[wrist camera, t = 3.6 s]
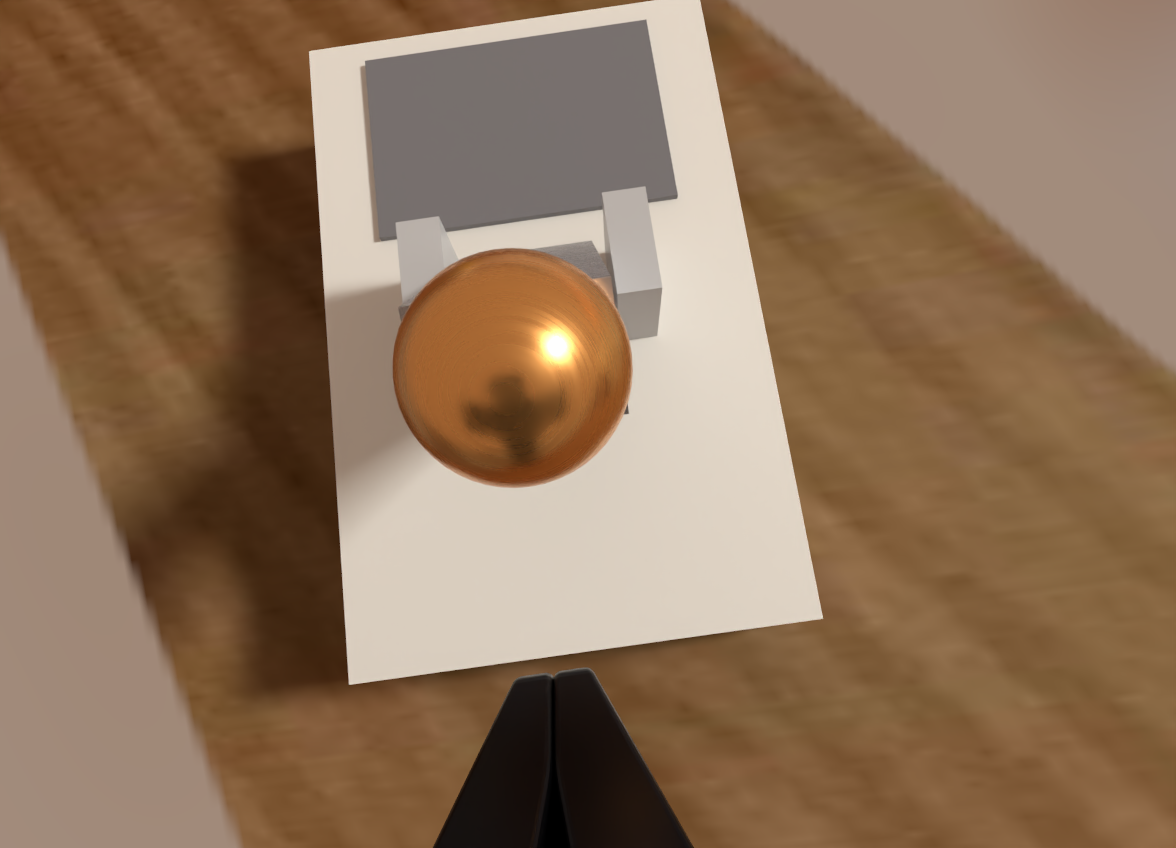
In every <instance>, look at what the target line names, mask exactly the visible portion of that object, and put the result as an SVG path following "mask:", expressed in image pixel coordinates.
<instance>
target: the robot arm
mask: <svg viewBox="0 0 1176 848" xmlns="http://www.w3.org/2000/svg"><path fill="white" fill-rule="evenodd" d="M433 848H694V847H693V845H692V844H691V842H690V840H689V838H688V837H687V835H686V833H685V831H684V829H683V828H682V826H681V824H680V822H679V821H678V819H677V817H676V815H675V814H674V812H673V810H672V808H671V807H670V805H669V803H668V801H667V800H666V798H665V796H664V794H663V793H662V791H661V789H660V787H659V786H658V784H657V782H656V780H655V779H654V777H653V775H652V773H651V772H650V770H649V768H648V766H647V764H646V763H645V761H644V759H643V757H642V756H641V754H640V752H639V750H638V749H637V747H636V745H635V743H634V742H633V740H632V738H631V736H630V735H629V733H628V731H627V729H626V728H625V726H624V724H623V722H622V721H621V719H620V717H619V715H618V714H617V712H616V710H615V708H614V707H613V705H612V703H611V701H610V699H609V698H608V696H607V694H606V692H605V691H604V689H603V687H602V685H601V684H600V682H599V680H598V678H597V677H596V675H595V673H594V672H593V671H592V670H591V669H590V668H579V669H572V670H564V671H559V672H557V673H556V675H555V677H553V676H552V675H551V674H549V673H543V674H536V675H529V676H522V677H518V678H517V679H516V680H515V681H514V682H513V684H512V686H511V688H510V690H509V692H508V694H507V696H506V698H505V700H504V702H503V704H502V706H501V708H500V710H499V713H498V715H497V717H496V719H495V721H494V723H493V725H492V727H491V729H490V731H489V733H488V735H487V737H486V739H485V741H484V743H483V745H482V748H481V750H480V752H479V754H478V756H477V758H476V760H475V762H474V764H473V766H472V768H471V770H470V772H469V774H468V776H467V778H466V780H465V783H464V785H463V787H462V789H461V791H460V793H459V795H458V797H457V799H456V801H455V803H454V805H453V807H452V809H451V811H450V813H449V815H448V817H447V820H446V822H445V824H444V826H443V828H442V830H441V832H440V834H439V836H438V838H437V840H436V842H435V844H434V846H433Z"/></svg>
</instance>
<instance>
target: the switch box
mask: <svg viewBox="0 0 1176 848" xmlns="http://www.w3.org/2000/svg"><path fill="white" fill-rule="evenodd" d="M309 58H310V74H311V90H312V106H313V122H314V138H315V153H316V169H317V185H318V201H319V217H320V233H321V249H322V265H323V280H324V296H325V312H326V328H327V344H328V360H329V376H330V392H331V407H332V423H333V439H334V455H335V471H336V487H337V503H338V519H339V535H340V550H341V566H342V582H343V598H344V614H345V630H346V646H347V662H348V677H349V685H352V684H359V683H366V682H373V681H380V680H387V679H394V678H402V677H409V676H416V675H423V674H430V673H437V672H445V671H452V670H459V669H466V668H473V667H480V666H488V665H495V664H502V663H509V662H516V661H523V660H530V659H538V658H545V657H552V656H559V655H566V654H573V653H581V652H588V651H595V650H602V649H609V648H616V647H624V646H631V645H638V644H645V643H652V642H659V641H667V640H674V639H681V638H688V637H695V636H702V635H709V634H717V633H724V632H731V631H738V630H745V629H752V628H760V627H767V626H774V625H781V624H788V623H795V622H803V621H810V620H817V619H823V616H822V611H821V606H820V601H819V596H818V591H817V586H816V581H815V576H814V571H813V566H812V561H811V556H810V551H809V546H808V541H807V536H806V531H805V526H804V521H803V516H802V511H801V506H800V501H799V496H798V491H797V486H796V481H795V476H794V471H793V465H792V460H791V455H790V450H789V445H788V440H787V435H786V430H785V425H784V420H783V415H782V410H781V405H780V400H779V395H778V390H777V385H776V380H775V375H774V370H773V365H772V360H771V355H770V350H769V345H768V340H767V335H766V330H765V325H764V320H763V315H762V310H761V305H760V300H759V295H758V290H757V285H756V279H755V274H754V269H753V264H752V259H751V254H750V249H749V244H748V239H747V234H746V229H745V224H744V219H743V214H742V209H741V204H740V199H739V194H738V189H737V184H736V179H735V174H734V169H733V164H732V159H731V154H730V149H729V144H728V139H727V134H726V129H725V124H724V119H723V114H722V109H721V104H720V99H719V93H718V88H717V83H716V78H715V73H714V68H713V63H712V58H711V53H710V48H709V43H708V38H707V33H706V28H705V23H704V18H703V13H702V8H701V3H700V0H654V1H647V2H640V3H634V4H627V5H620V6H613V7H606V8H600V9H593V10H586V11H579V12H572V13H566V14H559V15H552V16H545V17H538V18H532V19H525V20H518V21H511V22H504V23H498V24H491V25H484V26H477V27H470V28H464V29H457V30H450V31H443V32H436V33H430V34H423V35H416V36H409V37H402V38H396V39H389V40H382V41H375V42H368V43H362V44H355V45H348V46H341V47H334V48H328V49H321V50H314V51H309ZM590 240H592V242H593V244H594V246H595V248H596V249H597V251H598V253H599V255H600V257H601V259H602V261H603V262H604V264H605V266H606V268H607V270H608V272H609V274H610V276H611V280H612V288H613V295H614V303H615V306H616V308H617V310H618V312H619V314H620V316H621V318H622V320H623V322H624V325H625V328H626V331H627V333H628V336H629V341H630V346H631V351H632V365H633V375H632V387H631V392H630V397H629V401H628V410H629V414H624V415H623V417H622V419H621V421H620V423H619V425H618V427H617V429H616V430H615V432H614V433H613V435H612V436H611V438H610V439H609V441H608V442H607V444H606V445H605V446H604V447H603V448H602V449H601V450H600V451H599V452H598V454H597V455H595V456H594V457H593V458H592V459H591V460H590V461H588V462H587V463H586V464H585V465H583V466H582V467H580V468H579V469H577V470H576V471H574V472H572V473H570V474H568V475H566V476H564V477H562V478H560V479H557V480H554V481H551V482H548V483H545V484H541V485H536V486H532V487H522V488H503V487H495V486H489V485H484V484H481V483H478V482H474V481H471V480H469V479H467V478H464V477H462V476H460V475H458V474H456V473H454V472H453V471H451V470H449V469H448V468H446V467H445V466H443V465H442V464H441V463H439V462H438V461H437V460H436V459H434V458H433V457H432V456H431V455H430V454H429V453H428V452H427V451H426V450H425V449H424V448H423V447H422V446H421V444H420V443H419V442H418V441H417V439H416V438H415V437H414V435H413V434H412V432H411V431H410V429H409V427H408V426H407V424H406V422H405V420H404V418H403V416H402V413H401V411H400V408H399V406H398V402H397V398H396V395H395V390H394V383H393V351H394V344H395V340H396V336H397V332H398V329H399V326H400V324H401V319H400V315H399V310H398V307H399V306H400V305H402V304H403V303H404V302H406V301H407V300H408V299H410V298H411V297H412V296H414V295H415V294H416V293H418V292H419V291H420V290H421V289H422V288H423V287H424V286H425V285H426V284H427V283H428V282H429V281H430V280H431V279H432V278H433V277H434V276H435V275H436V274H438V273H439V272H440V271H442V270H443V269H445V268H446V267H448V266H449V265H451V264H453V263H455V262H457V261H458V260H460V259H462V258H465V257H467V256H470V255H473V254H476V253H479V252H484V251H488V250H493V249H504V248H521V249H535V248H542V247H549V246H556V245H562V244H569V243H576V242H583V241H590Z"/></svg>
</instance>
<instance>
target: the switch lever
mask: <svg viewBox="0 0 1176 848" xmlns="http://www.w3.org/2000/svg"><path fill="white" fill-rule="evenodd" d="M398 310H399V315H400V319H401V324H400V326H399V329H398V332H397V336H396V340H395V344H394V351H393V383H394V390H395V395H396V398H397V402H398V406H399V408H400V411H401V413H402V416H403V418H404V420H405V422H406V424H407V426H408V427H409V429H410V431H411V432H412V434H413V435H414V437H415V438H416V439H417V441H418V442H419V443H420V444H421V446H422V447H423V448H424V449H425V450H426V451H427V452H428V453H429V454H430V455H431V456H432V457H433V458H434V459H436V460H437V461H438V462H439V463H441V464H442V465H443V466H445V467H446V468H448V469H449V470H451V471H453V472H454V473H456V474H458V475H460V476H462V477H464V478H467V479H469V480H471V481H474V482H478V483H481V484H484V485H489V486H495V487H503V488H522V487H532V486H536V485H541V484H545V483H548V482H551V481H554V480H557V479H560V478H562V477H564V476H566V475H568V474H570V473H572V472H574V471H576V470H577V469H579V468H580V467H582V466H583V465H585V464H586V463H587V462H588V461H590V460H591V459H592V458H593V457H594V456H595V455H597V454H598V452H599V451H600V450H601V449H602V448H603V447H604V446H605V445H606V444H607V442H608V441H609V439H610V438H611V436H612V435H613V433H614V432H615V430H616V429H617V427H618V425H619V423H620V421H621V419H622V417H623V415H624V414H629V410H628V401H629V397H630V392H631V387H632V375H633V365H632V351H631V346H630V341H629V336H628V333H627V331H626V328H625V325H624V322H623V320H622V318H621V316H620V314H619V312H618V310H617V308H616V306H615V303H614V295H613V288H612V280H611V276H610V274H609V272H608V270H607V268H606V266H605V264H604V262H603V261H602V259H601V257H600V255H599V253H598V251H597V249H596V248H595V246H594V244H593V242H592V240H590V241H583V242H576V243H569V244H562V245H556V246H549V247H542V248H535V249H521V248H504V249H493V250H488V251H484V252H479V253H476V254H473V255H470V256H467V257H465V258H462V259H460V260H458V261H457V262H455V263H453V264H451V265H449V266H448V267H446V268H445V269H443V270H442V271H440V272H439V273H438V274H436V275H435V276H434V277H433V278H432V279H431V280H430V281H429V282H428V283H427V284H426V285H425V286H424V287H423V288H422V289H421V290H420V291H419V292H418V293H416V294H415V295H414V296H412V297H411V298H410V299H408V300H407V301H406V302H404V303H403V304H402V305H400V306H399V307H398Z"/></svg>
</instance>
